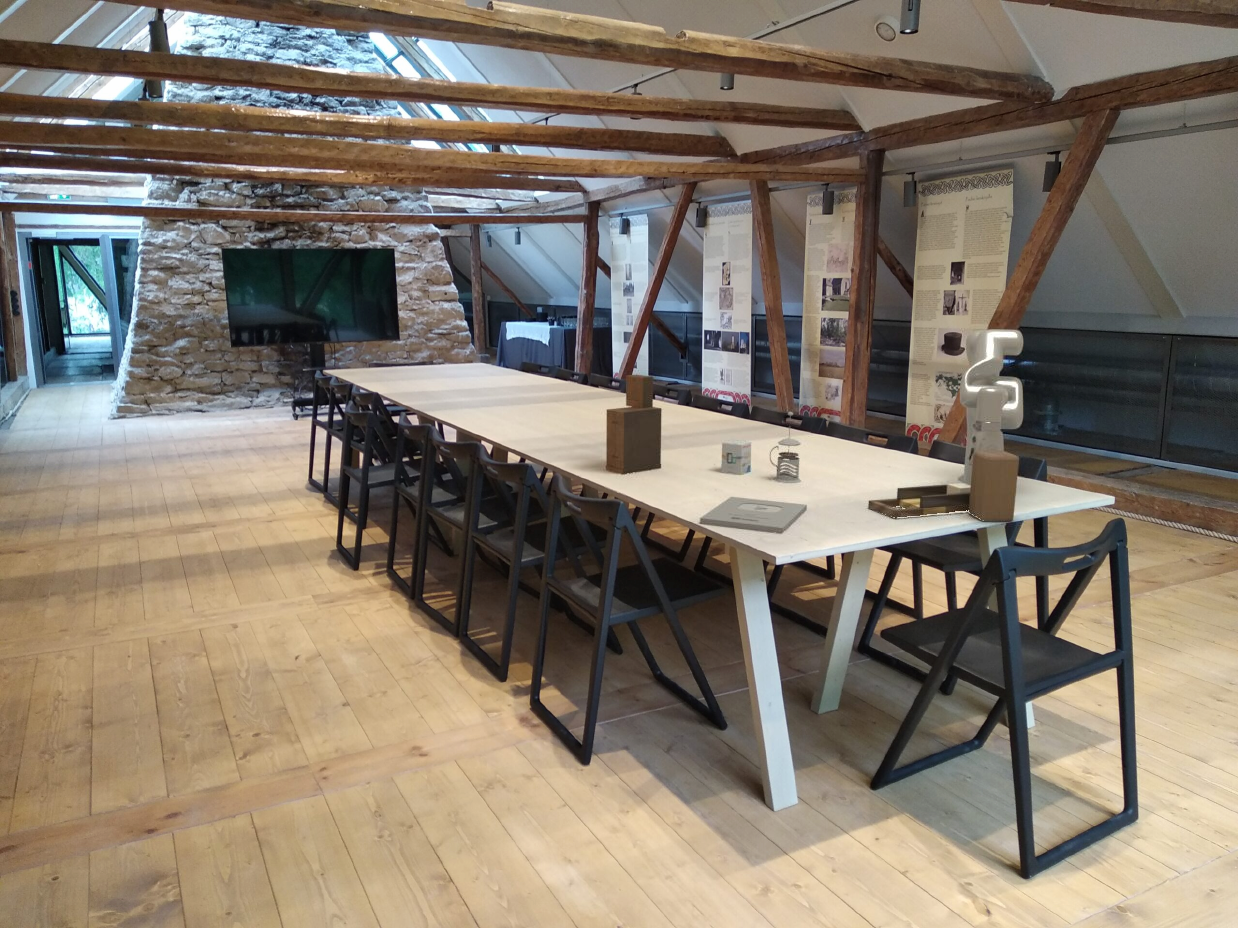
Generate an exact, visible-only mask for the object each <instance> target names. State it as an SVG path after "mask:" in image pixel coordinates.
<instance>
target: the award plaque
mask: <svg viewBox="0 0 1238 928" xmlns="http://www.w3.org/2000/svg"><path fill="white" fill-rule="evenodd" d="M807 509H808V504H802V503H795V502H794V503H792V502H785V501H775V500H773V501H772V500H768V499H767V500H764V499H757V498H746V497H739V496H730V497H729V498H727V499H726V500H724V501H723V502H721V503H720V504H719V505H717V506H715V507H714V508H713V509H711V510H710V511H708V512H707V513H705V514H703V516H701V517H700V518H699V524H702V525H707V526H715V527H716V526H717V527H724V528H726V527H727V528H733V529H742V530H749V531H750V530H751V531H756V532H757V531H759V532H765V531H767V532H766V533H773V532H776V533H775V534H781V533H783V532H784V531H785V532H786V531H787V530H788V529H789V528H790V527H791V526H792V525H794V523H795V522H796V521H797V520H798V519H799V518H800V517H802V515H803V514H804V513H805V512H806V511H808V510H807ZM785 532H784V533H785ZM784 533H783V534H784Z"/></svg>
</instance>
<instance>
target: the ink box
mask: <svg viewBox="0 0 1238 928" xmlns="http://www.w3.org/2000/svg"><path fill="white" fill-rule="evenodd" d="M751 464H752V441H746V440H735V439H731V440H726V441H724V442H722V443H721V471H720V473H722V474H729V475H737V476H742V475H745V474H748V473H750V472H751V470H752V467H751Z"/></svg>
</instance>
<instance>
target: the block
mask: <svg viewBox="0 0 1238 928" xmlns="http://www.w3.org/2000/svg"><path fill="white" fill-rule="evenodd" d="M1019 465H1020V457H1019V456H1018V455H1015V454H1012V453H1010V452H1008V451H1005V450H1004V451H975V452H974V454H973V465H972V477H971V488H970V499H969V512H970V513H971V514H973V515H974V516H977V517H978V518H980V519H981V520H984V521H983V522H1012V521H1013V520H1014V515H1015V505H1016V494H1017V486H1018V485H1017V483H1018V474H1019ZM971 514H970V515H971ZM974 516H973V517H974ZM978 518H977V519H978ZM981 520H980V521H981Z"/></svg>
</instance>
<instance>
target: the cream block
mask: <svg viewBox="0 0 1238 928" xmlns="http://www.w3.org/2000/svg"><path fill="white" fill-rule="evenodd" d="M946 485H947V494H955V493H968V492H970V488H971V485H968V484H964V483H962V482H959V483H948V484H946Z"/></svg>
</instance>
